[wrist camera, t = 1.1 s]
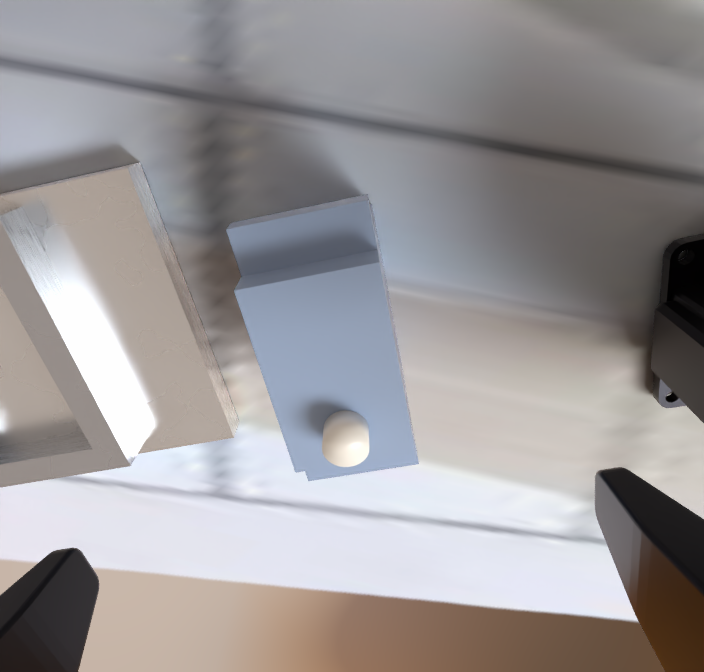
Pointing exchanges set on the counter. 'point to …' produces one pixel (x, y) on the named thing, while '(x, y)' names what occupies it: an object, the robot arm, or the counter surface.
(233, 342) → the counter surface
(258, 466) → the counter surface
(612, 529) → the robot arm
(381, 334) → the block
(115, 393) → the mount plate
